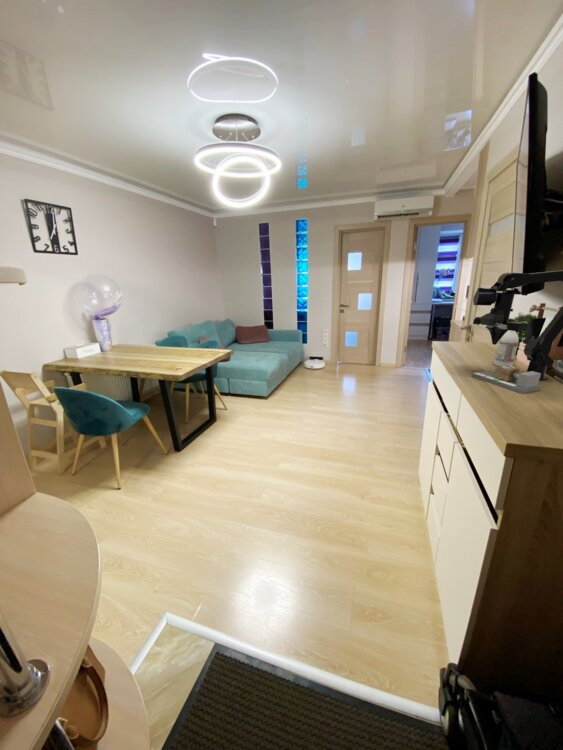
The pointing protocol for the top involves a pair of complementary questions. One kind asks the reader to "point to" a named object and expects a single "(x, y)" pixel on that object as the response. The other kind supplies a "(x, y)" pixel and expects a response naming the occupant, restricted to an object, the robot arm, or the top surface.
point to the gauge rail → (521, 385)
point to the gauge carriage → (507, 373)
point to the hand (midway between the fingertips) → (494, 344)
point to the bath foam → (507, 349)
